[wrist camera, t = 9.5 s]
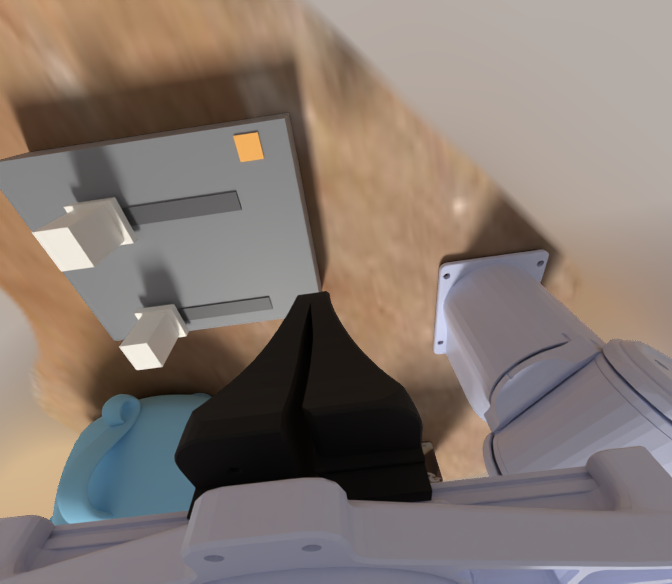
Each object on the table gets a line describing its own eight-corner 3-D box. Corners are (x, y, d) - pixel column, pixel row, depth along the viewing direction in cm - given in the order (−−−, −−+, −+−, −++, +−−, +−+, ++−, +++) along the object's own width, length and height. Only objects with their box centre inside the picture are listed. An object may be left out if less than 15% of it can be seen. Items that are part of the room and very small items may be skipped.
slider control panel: (322, 288, 24) (322, 313, 21) (134, 314, 24) (113, 342, 22) (288, 112, 17) (284, 118, 14) (28, 152, 17) (-21, 165, 15)
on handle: (189, 331, 21) (170, 368, 18) (155, 335, 21) (131, 373, 19) (174, 303, 20) (151, 339, 17) (137, 308, 20) (110, 345, 17)
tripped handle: (138, 239, 17) (104, 269, 14) (96, 245, 17) (55, 276, 15) (115, 197, 16) (73, 221, 13) (70, 203, 16) (19, 229, 13)
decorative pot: (217, 473, 40) (180, 628, 29) (81, 434, 33) (-37, 615, 22) (292, 413, 33) (282, 583, 22) (140, 348, 26) (15, 545, 15)
